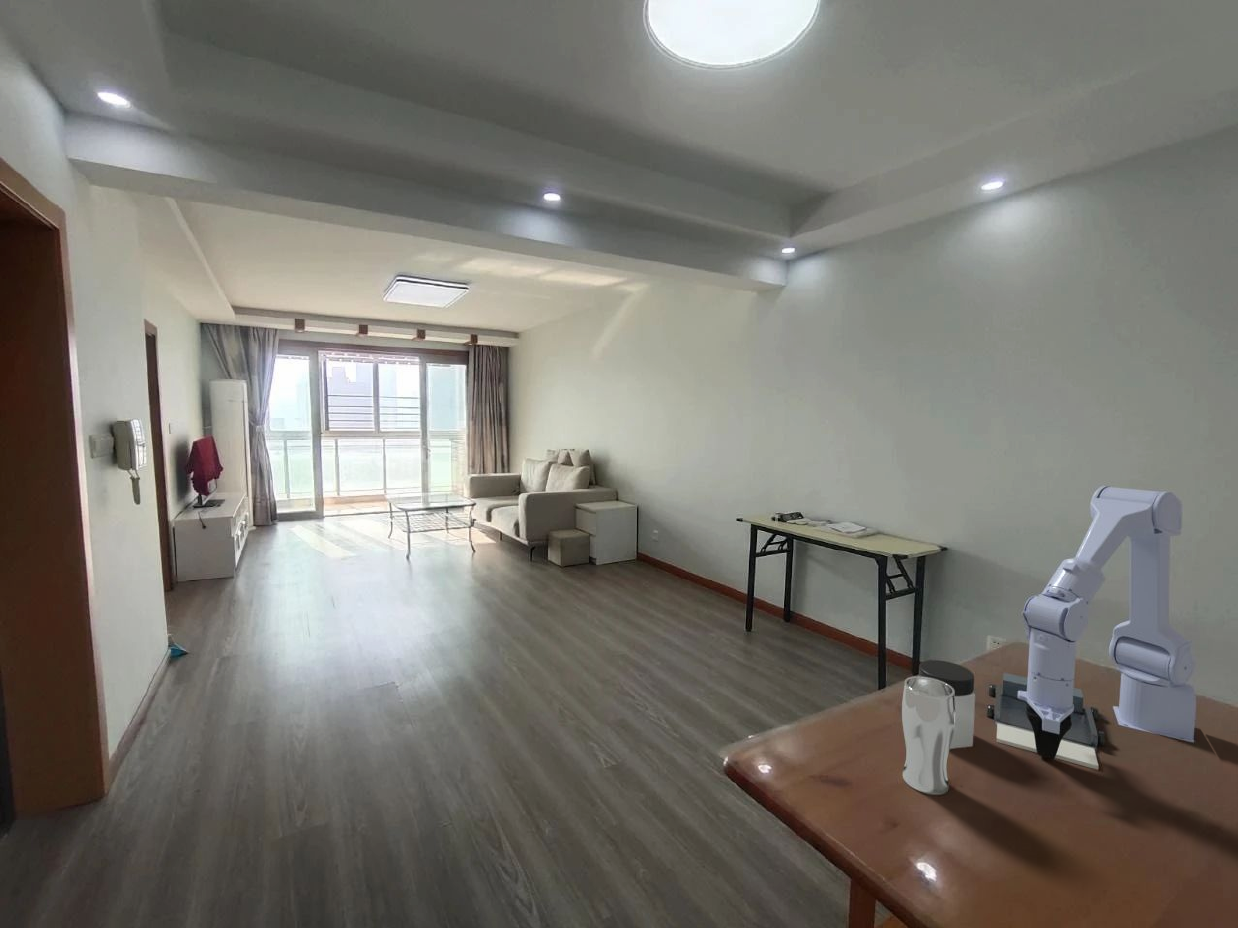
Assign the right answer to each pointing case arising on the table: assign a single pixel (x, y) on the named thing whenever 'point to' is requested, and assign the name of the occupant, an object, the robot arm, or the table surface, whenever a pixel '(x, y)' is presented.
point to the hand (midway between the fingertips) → (1045, 754)
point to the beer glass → (927, 733)
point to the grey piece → (1014, 714)
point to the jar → (956, 696)
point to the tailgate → (1065, 751)
